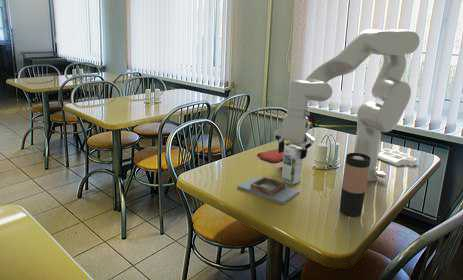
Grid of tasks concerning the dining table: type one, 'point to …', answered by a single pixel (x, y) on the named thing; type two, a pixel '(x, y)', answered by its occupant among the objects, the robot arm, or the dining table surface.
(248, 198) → the dining table surface
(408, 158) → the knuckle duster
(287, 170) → the syrup box
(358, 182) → the travel mug
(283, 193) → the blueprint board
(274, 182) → the socket frame
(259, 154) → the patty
